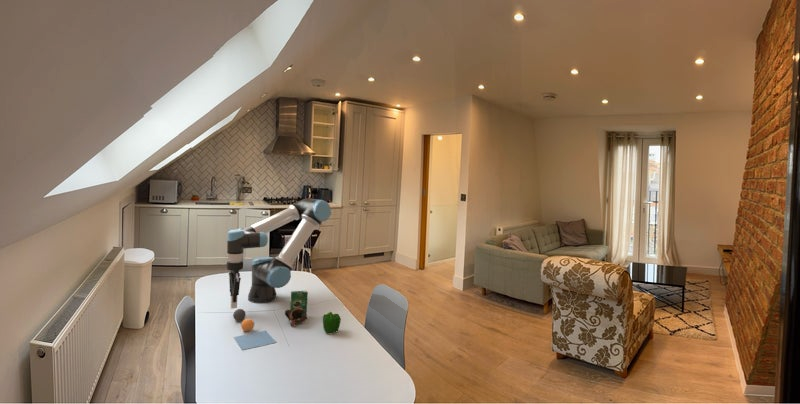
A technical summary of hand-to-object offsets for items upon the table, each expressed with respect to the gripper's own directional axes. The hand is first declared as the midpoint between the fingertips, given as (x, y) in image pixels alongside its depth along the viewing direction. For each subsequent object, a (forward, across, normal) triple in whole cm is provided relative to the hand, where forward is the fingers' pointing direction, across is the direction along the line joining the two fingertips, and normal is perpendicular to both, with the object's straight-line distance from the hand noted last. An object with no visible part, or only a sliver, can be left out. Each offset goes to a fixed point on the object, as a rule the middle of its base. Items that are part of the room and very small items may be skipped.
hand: (233, 307), depth 198 cm
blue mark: (+3, +34, 0) cm, 35 cm away
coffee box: (+3, +18, +26) cm, 32 cm away
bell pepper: (+3, +42, +32) cm, 53 cm away
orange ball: (+1, +24, 0) cm, 24 cm away
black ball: (+1, +9, 0) cm, 9 cm away
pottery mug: (+3, +25, +22) cm, 34 cm away
